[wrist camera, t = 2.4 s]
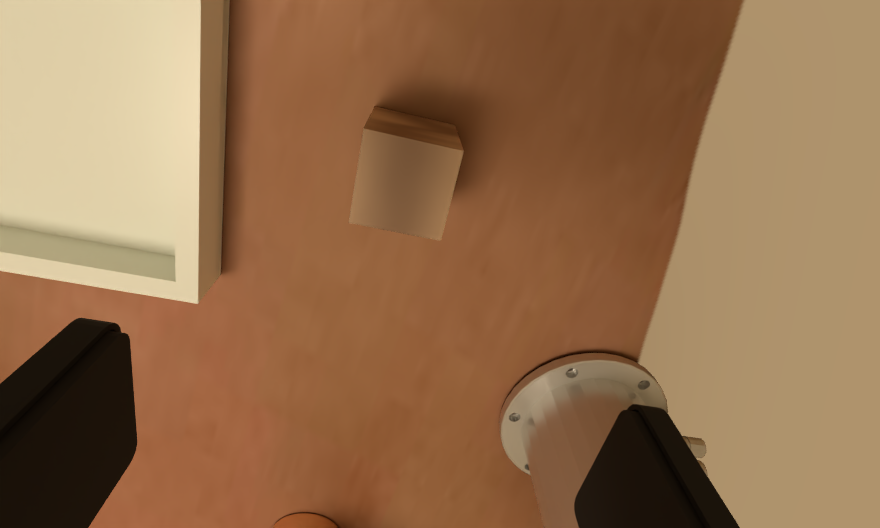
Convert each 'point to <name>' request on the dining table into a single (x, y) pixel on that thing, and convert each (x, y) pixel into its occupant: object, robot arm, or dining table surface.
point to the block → (406, 174)
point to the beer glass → (304, 521)
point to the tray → (114, 142)
